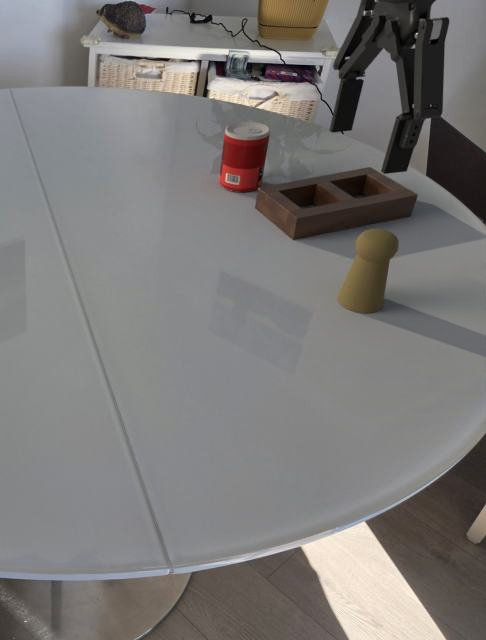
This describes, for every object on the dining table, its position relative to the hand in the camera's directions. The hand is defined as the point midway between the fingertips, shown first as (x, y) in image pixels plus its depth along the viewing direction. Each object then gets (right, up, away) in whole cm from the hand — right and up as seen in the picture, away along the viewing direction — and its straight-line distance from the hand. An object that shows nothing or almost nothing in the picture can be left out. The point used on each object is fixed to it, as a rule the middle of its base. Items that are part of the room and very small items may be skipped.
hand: (365, 150), depth 81 cm
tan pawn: (+5, -19, +12) cm, 23 cm away
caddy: (+11, -1, +33) cm, 34 cm away
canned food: (-1, +6, +44) cm, 44 cm away
